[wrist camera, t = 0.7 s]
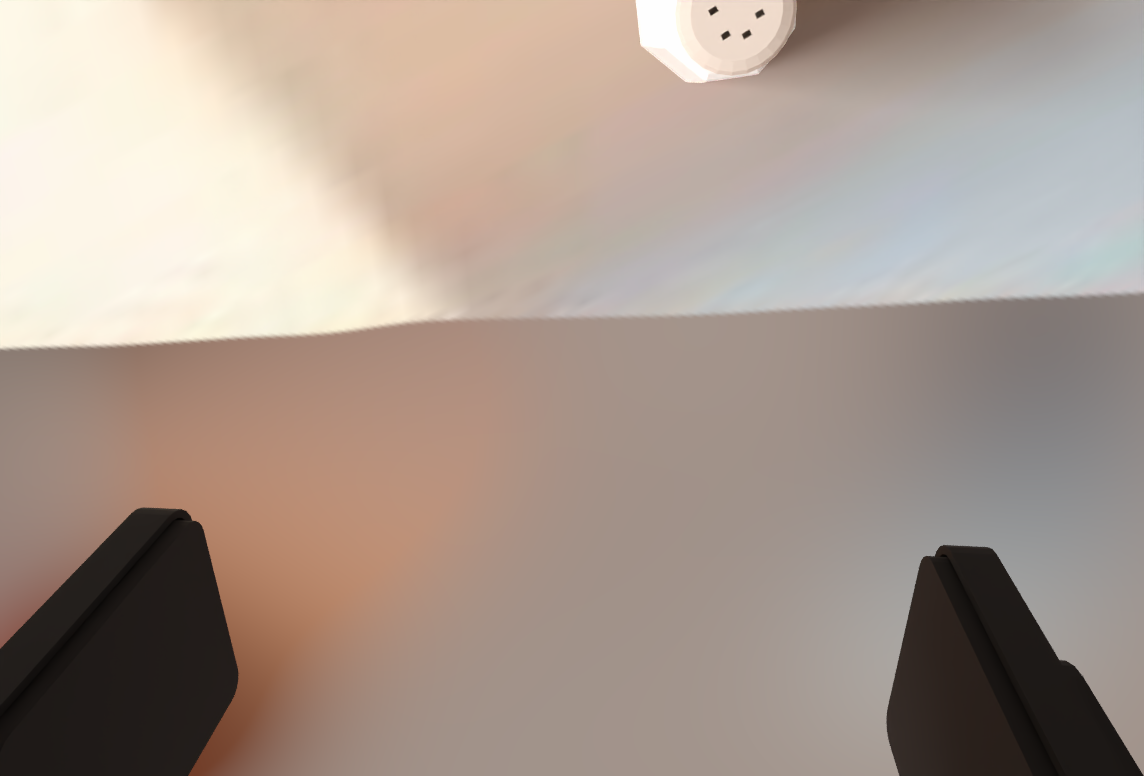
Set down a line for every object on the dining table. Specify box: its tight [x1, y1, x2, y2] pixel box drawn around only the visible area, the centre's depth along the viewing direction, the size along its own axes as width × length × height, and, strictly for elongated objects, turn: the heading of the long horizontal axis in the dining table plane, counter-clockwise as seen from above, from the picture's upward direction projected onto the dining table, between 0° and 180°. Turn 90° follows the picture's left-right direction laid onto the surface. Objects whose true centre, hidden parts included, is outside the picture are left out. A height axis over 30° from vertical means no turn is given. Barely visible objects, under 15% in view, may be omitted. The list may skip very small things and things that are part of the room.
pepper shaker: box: [636, 0, 797, 83], centre depth 24 cm, size 5×5×11 cm
